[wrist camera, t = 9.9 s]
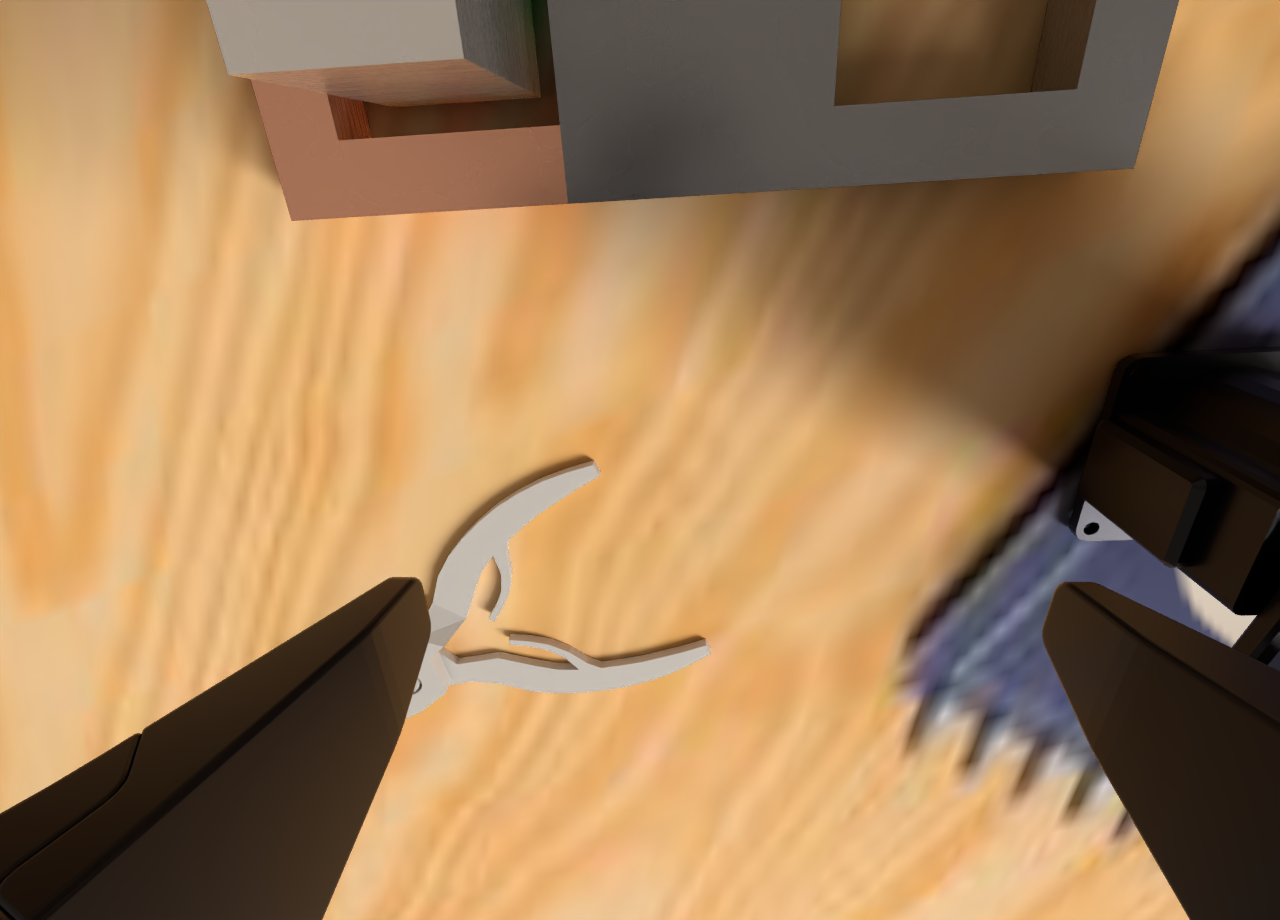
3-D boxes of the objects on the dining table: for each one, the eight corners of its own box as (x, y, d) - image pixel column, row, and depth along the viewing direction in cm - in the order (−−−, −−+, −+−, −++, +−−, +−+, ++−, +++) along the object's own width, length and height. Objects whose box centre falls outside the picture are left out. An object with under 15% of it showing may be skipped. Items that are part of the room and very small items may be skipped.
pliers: (715, 674, 23) (406, 785, 27) (712, 645, 25) (419, 753, 28) (586, 470, 20) (247, 630, 23) (591, 449, 21) (271, 602, 25)
